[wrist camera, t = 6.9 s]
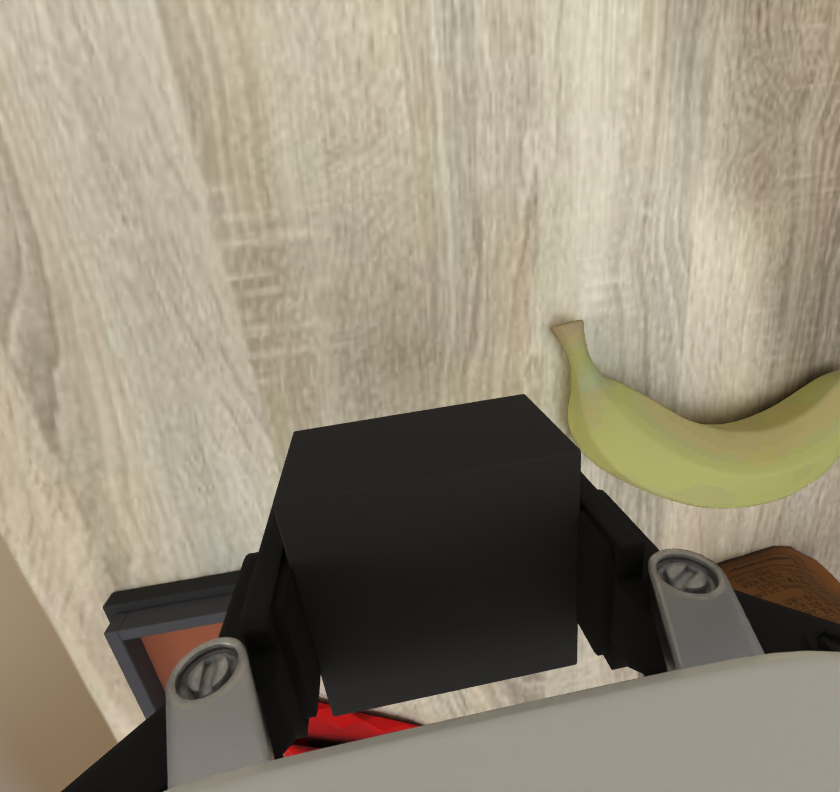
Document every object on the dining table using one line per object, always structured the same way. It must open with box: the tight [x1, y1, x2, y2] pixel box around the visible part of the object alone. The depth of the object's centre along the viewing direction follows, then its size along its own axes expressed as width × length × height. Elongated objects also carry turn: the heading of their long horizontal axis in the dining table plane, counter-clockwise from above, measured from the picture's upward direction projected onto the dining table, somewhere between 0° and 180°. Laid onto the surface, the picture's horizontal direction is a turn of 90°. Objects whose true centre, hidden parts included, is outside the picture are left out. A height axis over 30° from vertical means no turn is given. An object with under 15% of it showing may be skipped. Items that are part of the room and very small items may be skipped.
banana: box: [551, 320, 840, 508], centre depth 27 cm, size 14×6×20 cm
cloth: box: [284, 703, 418, 757], centre depth 37 cm, size 26×14×2 cm, turn 15°
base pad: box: [103, 571, 240, 719], centre depth 29 cm, size 10×10×3 cm
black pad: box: [272, 394, 581, 717], centre depth 11 cm, size 6×6×3 cm
